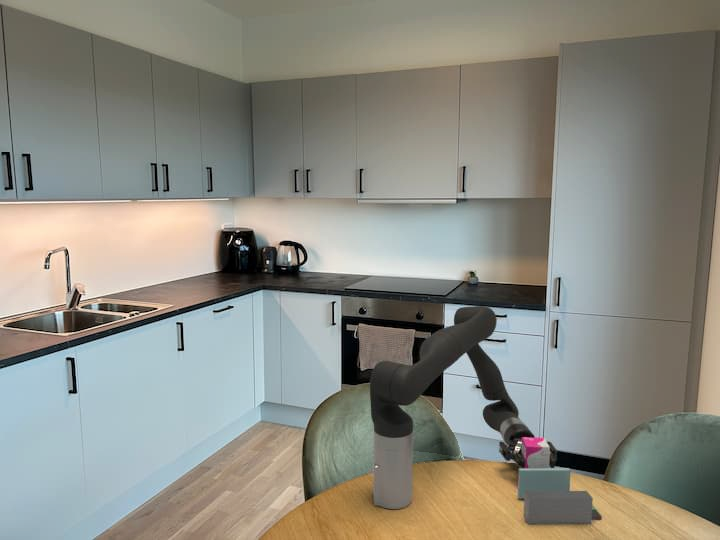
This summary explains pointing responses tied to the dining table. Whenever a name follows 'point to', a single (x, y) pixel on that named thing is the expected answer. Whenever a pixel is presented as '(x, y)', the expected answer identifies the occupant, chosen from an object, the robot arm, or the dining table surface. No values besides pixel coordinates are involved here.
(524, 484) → the gauge plate
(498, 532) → the dining table surface
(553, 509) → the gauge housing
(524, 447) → the supplement box
